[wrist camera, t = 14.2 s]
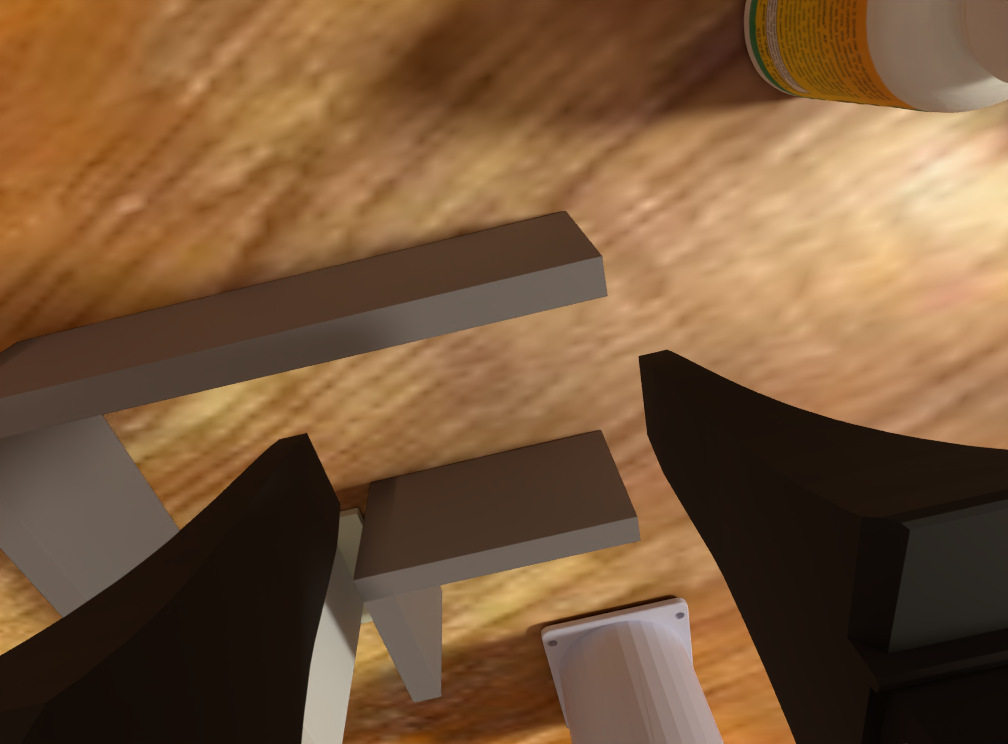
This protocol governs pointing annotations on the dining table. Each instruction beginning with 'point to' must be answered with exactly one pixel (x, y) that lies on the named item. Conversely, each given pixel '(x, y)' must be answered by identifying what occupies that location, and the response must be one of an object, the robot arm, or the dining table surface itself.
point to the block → (333, 659)
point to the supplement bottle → (883, 51)
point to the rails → (288, 346)
